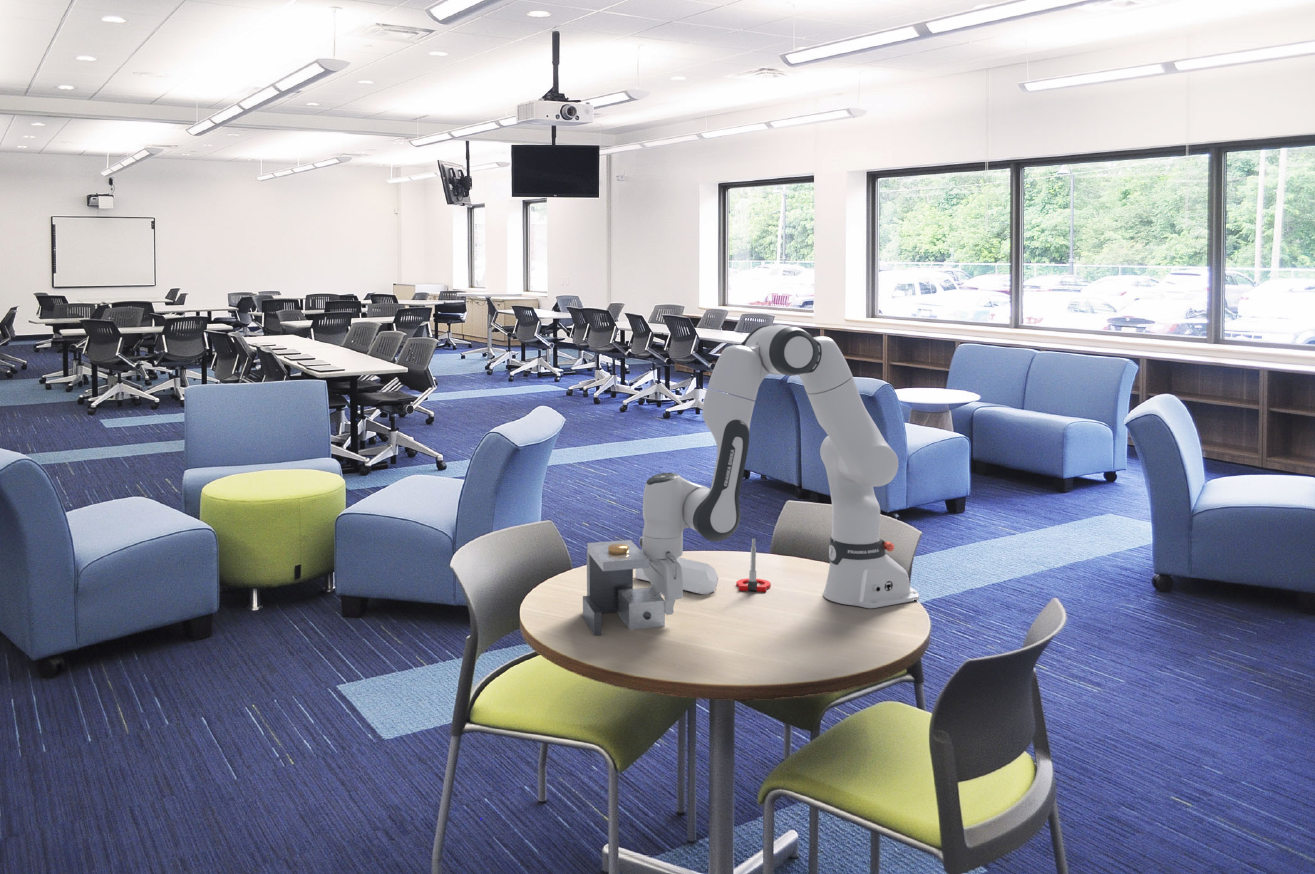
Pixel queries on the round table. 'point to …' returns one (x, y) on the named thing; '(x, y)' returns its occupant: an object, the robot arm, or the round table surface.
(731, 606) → the round table surface
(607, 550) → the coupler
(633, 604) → the brushed aluminum block
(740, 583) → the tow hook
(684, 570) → the crystal
